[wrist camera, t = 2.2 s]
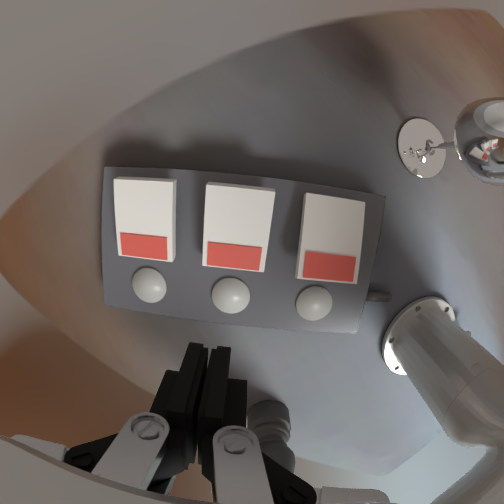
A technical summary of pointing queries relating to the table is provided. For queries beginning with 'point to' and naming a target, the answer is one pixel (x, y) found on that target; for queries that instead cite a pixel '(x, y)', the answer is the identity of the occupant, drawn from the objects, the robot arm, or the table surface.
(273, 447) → the candle holder
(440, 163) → the wineglass
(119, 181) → the rocker
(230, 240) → the rocker
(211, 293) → the power strip
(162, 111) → the table surface
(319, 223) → the rocker
